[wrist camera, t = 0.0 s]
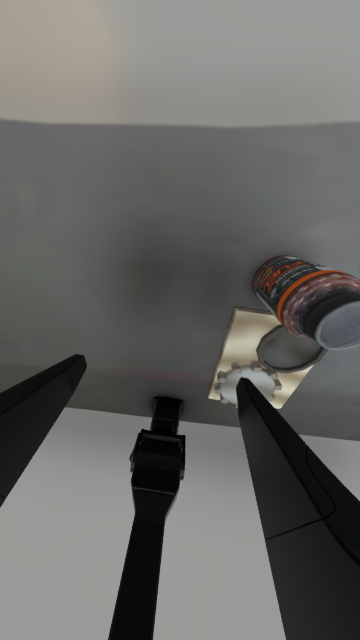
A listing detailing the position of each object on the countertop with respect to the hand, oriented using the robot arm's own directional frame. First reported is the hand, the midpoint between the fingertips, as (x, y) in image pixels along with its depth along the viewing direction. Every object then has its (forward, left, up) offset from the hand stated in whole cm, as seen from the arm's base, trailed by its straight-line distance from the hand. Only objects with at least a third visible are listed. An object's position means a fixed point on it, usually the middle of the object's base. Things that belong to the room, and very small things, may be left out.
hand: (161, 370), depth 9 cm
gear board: (-12, -15, -15) cm, 24 cm away
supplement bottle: (+3, -12, -15) cm, 19 cm away
